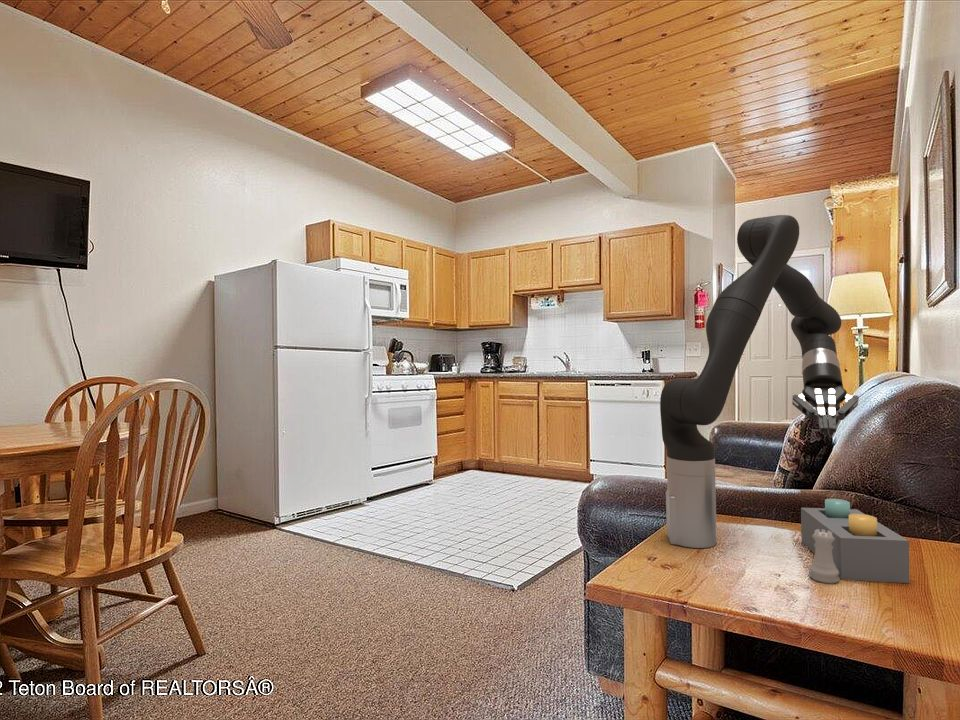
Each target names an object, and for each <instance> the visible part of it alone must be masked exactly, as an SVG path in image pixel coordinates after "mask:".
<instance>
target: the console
mask: <svg viewBox="0 0 960 720" xmlns="http://www.w3.org/2000/svg"><path fill="white" fill-rule="evenodd" d="M850 514H865V513H864V512H862V511H860V510H859V509H857V508H855V509H853V508H852V509H851V508H850ZM800 528H801V529H800V532H801V537H800V538H801V544H803V545H804V546H805V547H806V546H807V547H808V548H809V549H810V550H811V551H812V552H813V553H814V554H813V553H812V552H811V551H810V550H809V549H808V548H807V547H806V548H807V549H808V550H809V551H810V552H811V553H812V554H813V555H815V546H814V544H815V539H814V538H813V537H812V535H813V534H814V533H815V530H816V529H819V530H820V532H822V529H823V530H825V533H827V531H831V532H832V536H833V537H834V538H835V540H834V541H833V542H832V546H833V549H832V556H833V561H834V564H835V565H836V568H837V569H838V571H839V575H838V577H839V578H841V579H840V580H842V579H849V580H848V581H859V580H863V581H862V582H877V583H878V582H883V583H896V584H898V583H899V584H910V583H911V582H910V579H911V577H910V576H911V575H910V540H908V539H907V538H905V537H903V536H902V535H900V534H898V533H897V532H895V531H894V530H892V529H890V528H888V527H887V526H885V525H883V524H882V523H880V522H879V521H877V537H874V536H853V535H852V534H850V533H849V519H847V518H828V517H827V516H825V507H822V508H821V507H801V508H800ZM850 579H851V580H850Z"/></svg>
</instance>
